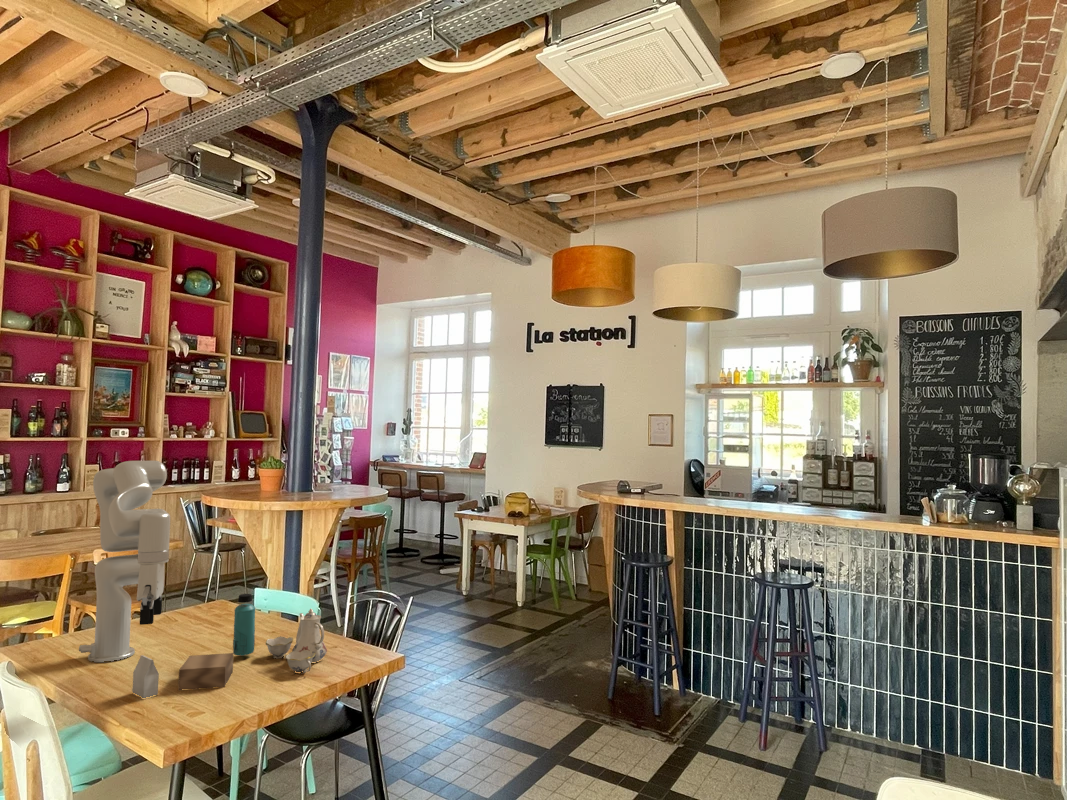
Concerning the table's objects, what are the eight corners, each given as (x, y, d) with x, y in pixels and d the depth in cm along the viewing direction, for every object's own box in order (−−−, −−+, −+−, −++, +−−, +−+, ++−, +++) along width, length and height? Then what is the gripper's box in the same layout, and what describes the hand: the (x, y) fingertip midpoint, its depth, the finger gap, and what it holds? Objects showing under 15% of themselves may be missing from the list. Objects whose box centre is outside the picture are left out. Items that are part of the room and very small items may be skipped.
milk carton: (143, 699, 178) (145, 662, 178) (132, 693, 182) (134, 656, 182) (157, 695, 181) (159, 658, 181) (146, 689, 185) (148, 653, 185)
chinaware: (256, 662, 213) (252, 611, 213) (304, 645, 225) (301, 597, 225) (297, 685, 194) (293, 629, 193) (348, 666, 206) (344, 613, 205)
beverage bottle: (258, 655, 214) (261, 593, 215) (243, 661, 208) (246, 597, 209) (242, 652, 217) (245, 591, 218) (227, 659, 210) (229, 595, 211)
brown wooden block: (178, 691, 185) (179, 669, 185) (189, 676, 196) (189, 655, 196) (224, 688, 188) (225, 666, 188) (232, 673, 199) (233, 652, 199)
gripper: (145, 552, 191) (143, 612, 190) (129, 563, 174) (126, 629, 173) (174, 551, 193) (172, 610, 192) (161, 562, 177) (158, 626, 176)
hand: (150, 619), depth 183 cm, fingers open, 9 cm apart
